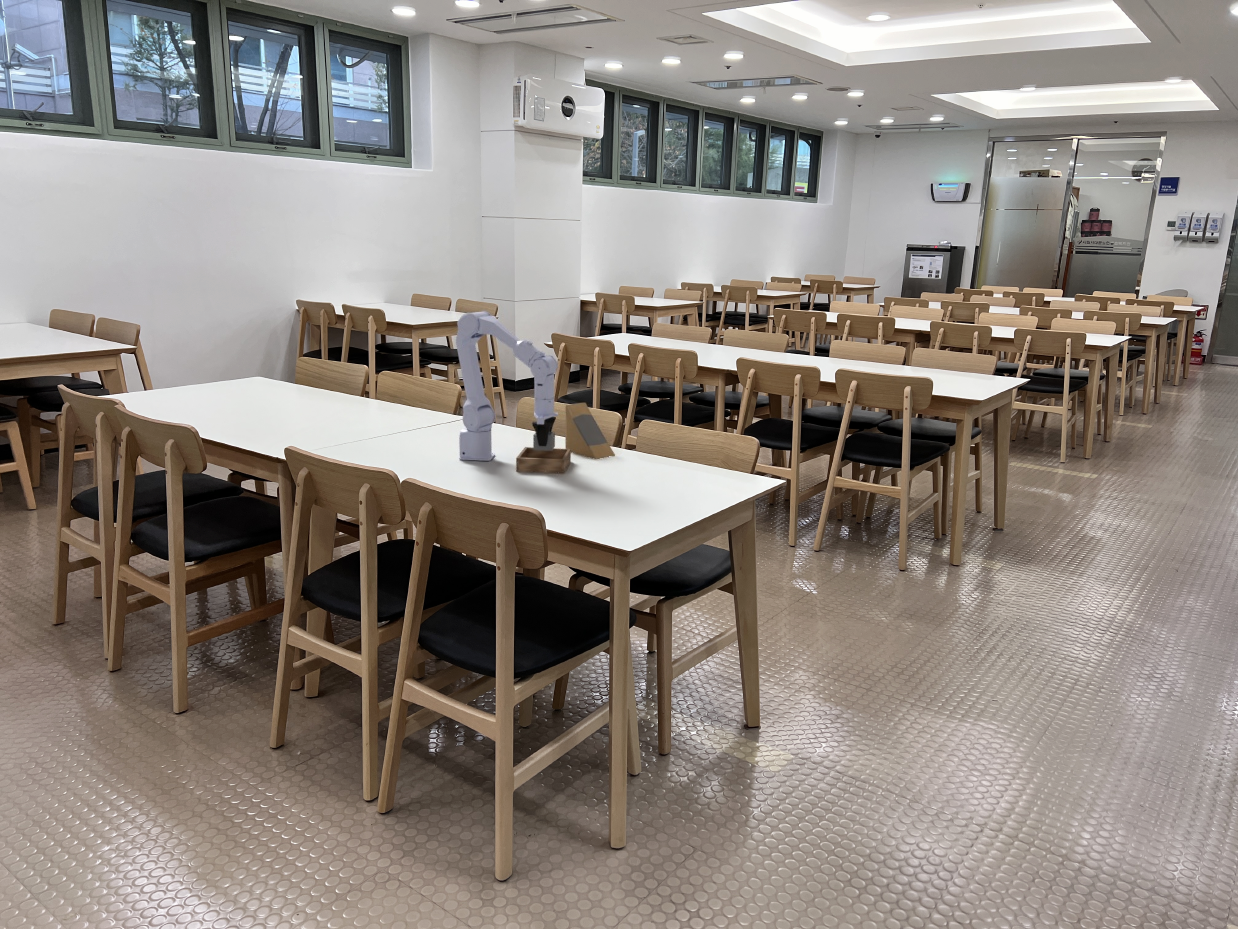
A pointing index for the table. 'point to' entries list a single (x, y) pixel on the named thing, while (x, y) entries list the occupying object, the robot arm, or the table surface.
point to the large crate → (543, 460)
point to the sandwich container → (584, 433)
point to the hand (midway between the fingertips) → (544, 443)
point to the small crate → (550, 442)
